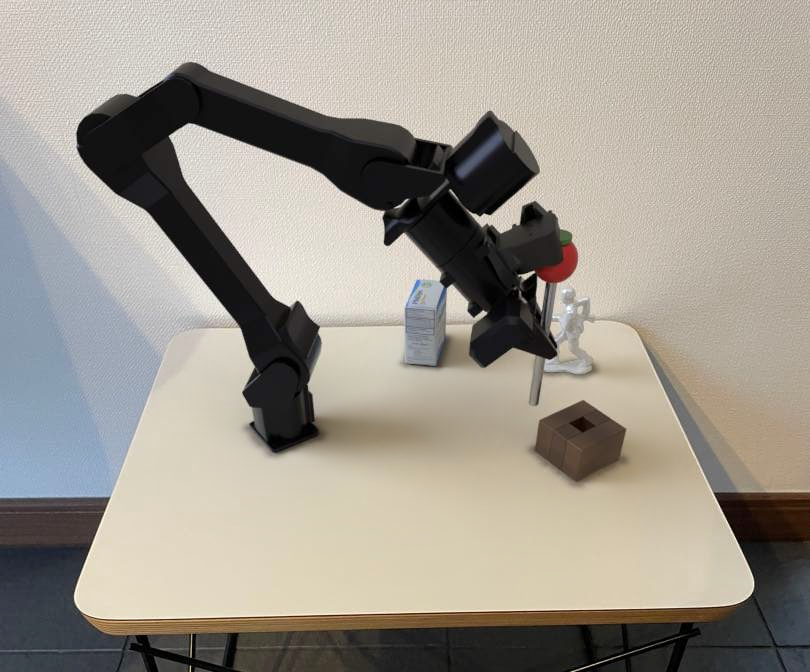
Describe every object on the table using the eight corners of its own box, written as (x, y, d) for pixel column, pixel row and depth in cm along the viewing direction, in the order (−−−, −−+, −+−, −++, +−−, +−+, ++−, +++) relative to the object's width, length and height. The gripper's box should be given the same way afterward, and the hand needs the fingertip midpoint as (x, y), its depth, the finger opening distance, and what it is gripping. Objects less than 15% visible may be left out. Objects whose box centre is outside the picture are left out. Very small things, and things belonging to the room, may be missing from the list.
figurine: (596, 376, 102) (613, 292, 94) (528, 380, 101) (539, 296, 93) (586, 357, 105) (602, 274, 97) (520, 361, 105) (530, 278, 96)
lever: (531, 419, 84) (557, 248, 70) (505, 400, 86) (525, 231, 73) (561, 406, 86) (592, 237, 72) (535, 388, 88) (559, 221, 75)
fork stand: (575, 482, 87) (582, 451, 84) (534, 450, 91) (539, 419, 88) (619, 459, 90) (627, 428, 86) (577, 430, 94) (583, 399, 90)
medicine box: (436, 367, 104) (438, 308, 97) (404, 364, 104) (403, 305, 98) (445, 338, 109) (448, 280, 103) (415, 334, 110) (415, 277, 104)
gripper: (518, 230, 63) (625, 357, 70) (524, 152, 76) (614, 266, 83) (421, 310, 70) (528, 420, 76) (443, 226, 83) (533, 325, 90)
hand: (554, 353), depth 81 cm, fingers closed on lever
